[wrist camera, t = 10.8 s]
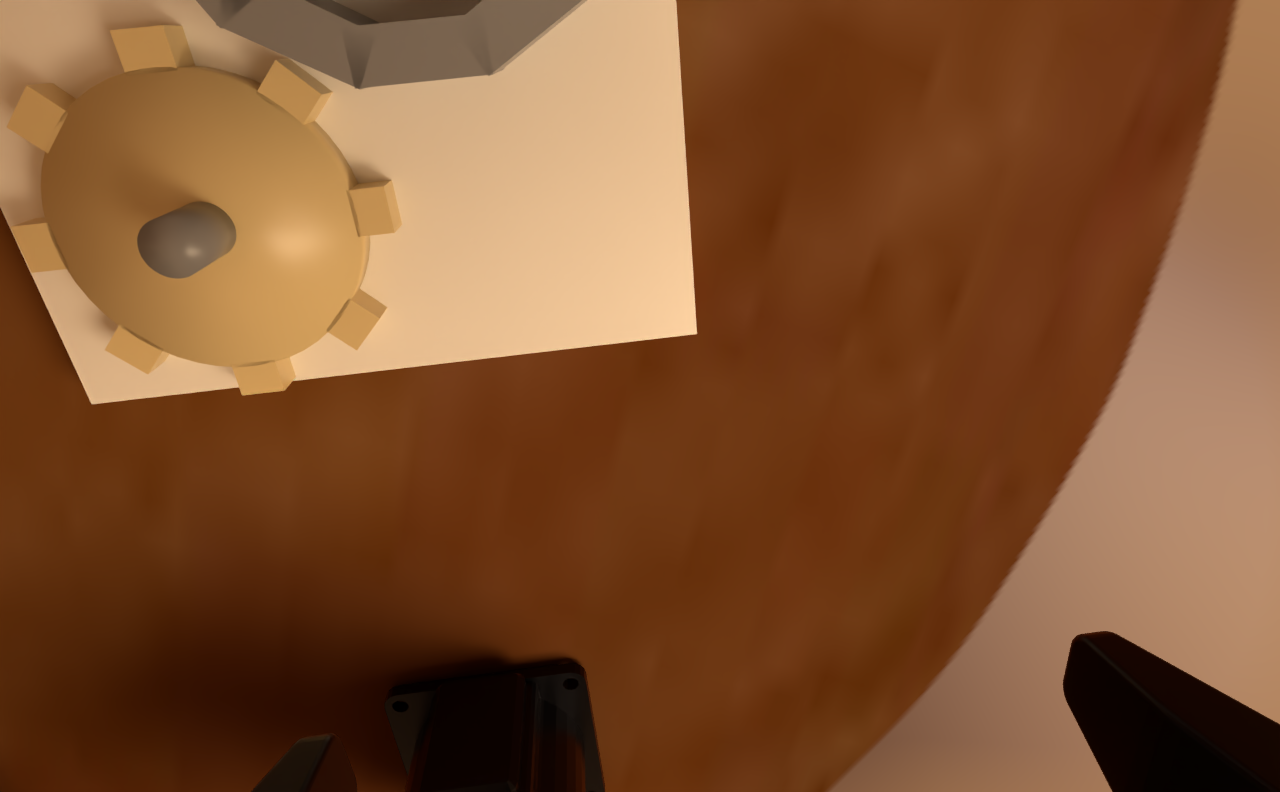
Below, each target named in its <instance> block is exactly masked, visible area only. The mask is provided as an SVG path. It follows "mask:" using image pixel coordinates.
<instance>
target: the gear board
mask: <svg viewBox="0 0 1280 792" xmlns="http://www.w3.org/2000/svg"><path fill="white" fill-rule="evenodd" d="M0 208H1V210H2V212H3V214H4V217H5V219H6V221H7V223H8V225H9V227H10V229H11V232H12V234H13V236H14V238H15V240H16V242H17V244H18V247H19V249H20V251H21V253H22V255H23V257H24V260H25V262H26V264H27V266H28V268H29V270H30V272H31V275H32V277H33V279H34V281H35V283H36V285H37V288H38V290H39V292H40V294H41V296H42V298H43V300H44V303H45V305H46V307H47V309H48V311H49V313H50V315H51V318H52V320H53V322H54V324H55V326H56V328H57V331H58V333H59V335H60V337H61V339H62V341H63V343H64V346H65V348H66V350H67V352H68V354H69V356H70V359H71V361H72V363H73V365H74V367H75V369H76V371H77V374H78V376H79V378H80V380H81V382H82V384H83V387H84V389H85V391H86V393H87V395H88V397H89V399H90V402H91V404H98V403H107V402H116V401H124V400H133V399H141V398H150V397H159V396H167V395H176V394H184V393H193V392H202V391H210V390H219V389H227V388H236V387H239V388H240V391H241V394H242V395H250V394H259V393H268V392H276V391H285V390H286V388H287V387H288V386H289V385H290V383H291V382H292V381H296V380H305V379H313V378H322V377H331V376H339V375H348V374H356V373H365V372H374V371H382V370H391V369H399V368H408V367H417V366H425V365H434V364H442V363H451V362H460V361H468V360H477V359H485V358H494V357H503V356H511V355H520V354H528V353H537V352H546V351H554V350H563V349H571V348H580V347H589V346H597V345H606V344H614V343H623V342H632V341H640V340H649V339H657V338H666V337H675V336H683V335H692V334H697V329H696V313H695V297H694V280H693V264H692V248H691V232H690V216H689V200H688V184H687V168H686V152H685V136H684V120H683V104H682V88H681V72H680V55H679V39H678V23H677V7H676V0H0Z"/></svg>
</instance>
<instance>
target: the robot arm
mask: <svg viewBox="0 0 1280 792" xmlns="http://www.w3.org/2000/svg"><path fill="white" fill-rule="evenodd" d="M569 678H574V680H567V679H569ZM1063 690H1064V695H1065V698H1066V701H1067V703H1068V705H1069V707H1070V709H1071V711H1072V713H1073V715H1074V717H1075V719H1076V721H1077V723H1078V725H1079V727H1080V729H1081V731H1082V733H1083V734H1084V737H1085V739H1086V741H1087V743H1088V745H1089V746H1090V749H1091V751H1092V752H1093V755H1094V756H1095V758H1096V760H1097V762H1098V764H1099V766H1100V768H1101V770H1102V772H1103V774H1104V776H1105V778H1106V780H1107V782H1108V784H1109V786H1110V788H1111V790H1112V792H1280V724H1278V723H1277V722H1275V721H1273V720H1271V719H1269V718H1267V717H1265V716H1264V715H1262V714H1260V713H1258V712H1257V711H1255V710H1253V709H1251V708H1249V707H1248V706H1246V705H1244V704H1242V703H1240V702H1239V701H1237V700H1235V699H1233V698H1231V697H1230V696H1228V695H1226V694H1224V693H1222V692H1220V691H1219V690H1217V689H1215V688H1213V687H1211V686H1210V685H1208V684H1206V683H1204V682H1202V681H1201V680H1199V679H1197V678H1195V677H1193V676H1192V675H1190V674H1188V673H1186V672H1184V671H1183V670H1180V669H1179V668H1177V667H1175V666H1173V665H1172V664H1170V663H1168V662H1166V661H1164V660H1163V659H1161V658H1159V657H1157V656H1155V655H1154V654H1152V653H1150V652H1148V651H1146V650H1145V649H1143V648H1141V647H1139V646H1137V645H1136V644H1134V643H1132V642H1130V641H1128V640H1126V639H1125V638H1122V637H1121V636H1119V635H1117V634H1115V633H1112V632H1108V631H1101V632H1093V633H1087V634H1080V635H1077V636H1076V637H1075V638H1074V639H1073V640H1072V643H1071V648H1070V652H1069V657H1068V661H1067V666H1066V670H1065V675H1064V680H1063ZM399 701H404V702H399ZM385 711H386V713H387V716H388V719H389V722H390V725H391V728H392V731H393V734H394V737H395V740H396V743H397V746H398V749H399V752H400V755H401V758H402V761H403V764H404V767H405V769H406V772H407V775H408V778H407V783H406V787H405V792H605V783H604V777H603V771H602V765H601V759H600V753H599V747H598V741H597V735H596V729H595V723H594V717H593V711H592V705H591V700H590V694H589V688H588V682H587V676H586V672H585V669H584V668H583V667H582V666H580V665H578V664H575V663H568V664H560V665H553V666H545V667H537V668H530V669H522V670H514V671H507V672H499V673H491V674H484V675H476V676H468V677H461V678H453V679H445V680H438V681H430V682H422V683H415V684H407V685H400V686H396V687H393V688H392V689H391V690H389V692H388V694H387V697H386V701H385ZM251 792H357V784H356V779H355V775H354V773H353V770H352V767H351V765H350V762H349V760H348V757H347V754H346V752H345V749H344V747H343V744H342V741H341V740H340V738H339V736H337V735H336V734H334V733H327V734H320V735H312V736H306V737H303V738H301V739H299V740H298V741H297V742H296V743H295V744H294V745H293V746H292V747H291V748H290V749H289V750H288V751H287V752H286V753H285V755H284V756H283V757H282V758H281V759H280V760H279V761H278V762H277V763H276V765H275V766H274V767H273V768H272V769H271V770H270V771H269V772H268V773H267V775H266V776H265V777H264V778H263V779H262V780H261V781H260V782H259V783H258V784H257V786H256V787H255V788H254V789H253V790H252V791H251Z"/></svg>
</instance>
